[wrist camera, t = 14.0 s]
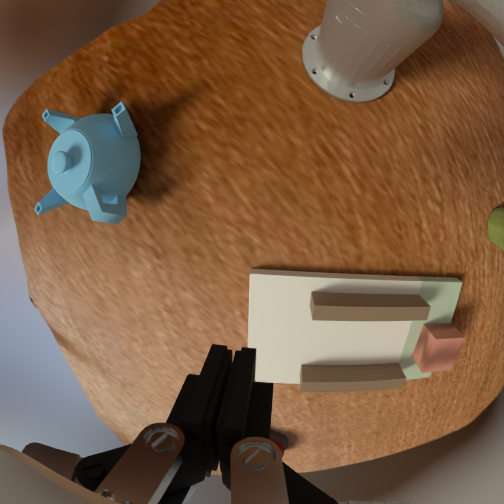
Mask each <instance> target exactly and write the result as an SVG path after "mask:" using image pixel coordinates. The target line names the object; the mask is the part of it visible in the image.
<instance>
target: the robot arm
mask: <svg viewBox="0 0 504 504" xmlns="http://www.w3.org/2000/svg"><path fill="white" fill-rule="evenodd" d="M449 1H450V2H452V3H453V4H455V5H456V6H458V7H460V8H461V9H462V10H464V11H465V12H466V13H467V14H469V15H470V16H471V17H472V18H474V19H475V20H476V21H477V22H478V23H479V24H481V25H482V26H483V27H484V28H485V29H486V30H487V31H488V32H490V33H491V34H492V35H493V36H494V37H495V38H496V39H497V40H498V41H499V42H500V43H501V44H502V45H503V46H504V0H449ZM442 18H443V0H327V4H326V7H325V11H324V15H323V19H322V23H321V25H320V26H318V27H316V28H315V29H313V30H312V31H311V32H310V33H309V34H308V36H307V37H306V39H305V41H304V44H303V49H302V60H303V64H304V68H305V70H306V72H307V74H308V75H309V77H310V78H311V80H312V81H313V82H314V83H315V84H316V85H317V86H318V87H319V88H320V89H322V90H323V91H324V92H326V93H327V94H329V95H331V96H333V97H335V98H337V99H340V100H343V101H347V102H352V103H363V102H369V101H372V100H375V99H377V98H379V97H380V96H382V95H383V94H384V93H385V92H387V91H388V90H389V88H390V87H391V85H392V83H393V80H394V76H395V68H396V67H397V66H398V65H399V64H400V63H401V62H402V61H404V60H405V59H406V58H407V57H408V56H409V55H411V54H412V53H413V52H414V51H415V50H416V49H418V48H419V47H420V46H421V45H422V44H423V43H425V42H426V41H427V40H428V39H429V38H430V37H432V36H433V35H434V34H435V33H436V31H437V30H438V29H439V27H440V25H441V22H442ZM313 72H315V73H316V74H313ZM384 83H385V84H386V85H385V84H384ZM350 95H352V96H353V98H351V97H350ZM255 369H256V348H245V347H242V349H241V351H238V350H236V352H235V356H234V359H233V363H232V350H227V346H224V345H215V344H212V346H211V348H210V351H209V353H208V356H207V358H206V361H205V363H204V366H203V368H202V371H201V373H200V375H194V374H189V375H188V376H187V377H186V380H185V382H184V384H183V386H182V388H181V391H180V393H179V395H178V397H177V399H176V402H175V404H174V406H173V408H172V410H171V413H170V415H169V417H168V419H167V421H166V423H154V424H151V425H149V426H147V427H145V428H144V429H143V430H142V431H141V432H140V434H139V435H138V436H137V438H136V439H135V440H134V441H133V443H132V444H129V445H126V446H123V447H120V448H116V449H113V450H109V451H106V452H102V453H99V454H94V455H91V456H88V457H85V458H82V457H80V456H79V455H78V454H75V453H71V452H67V451H63V450H60V449H56V448H53V447H50V446H47V445H44V444H41V443H35V442H34V443H29V444H28V445H26V446H25V448H24V449H23V451H22V452H20V451H18V450H16V449H13V448H11V447H8V446H5V445H1V444H0V504H187V503H188V501H189V499H190V498H191V495H192V494H193V492H194V490H195V488H196V484H197V483H199V482H201V481H203V480H204V479H205V476H207V477H210V474H211V470H214V471H216V470H217V468H218V464H219V462H220V470H221V473H222V481H223V484H224V485H225V486H226V487H227V488H228V489H229V490H230V491H231V504H411V503H409V502H363V501H348V502H337V501H335V500H334V499H333V498H331V497H330V496H328V495H327V494H326V493H324V492H323V491H321V490H320V489H318V488H317V487H316V486H314V485H313V484H311V483H310V482H309V481H307V480H306V479H305V478H303V477H302V476H300V475H299V474H298V473H297V472H295V471H294V470H293V469H291V468H290V467H289V466H288V465H286V464H285V463H284V462H283V461H282V456H281V452H280V449H279V447H278V446H277V445H276V444H275V443H274V442H272V441H271V440H269V438H270V425H271V412H272V397H273V383H266V382H255Z"/></svg>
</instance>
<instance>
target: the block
mask: <svg viewBox="0 0 504 504" xmlns="http://www.w3.org/2000/svg"><path fill="white" fill-rule="evenodd" d="M464 339H465V337H464V336H463V334H462V333H461V332H460V331H459V330H458V329H457V328H456V327H455V326H454V325H453V324H452V323H445V324H423V327H422V330H421V333H420V336H419V338H418V341H417V344H416V347H415V349H414V352H413V354H412V357H413V359H414V361H415V362H416V364H417V366H418V367H419V369H420V371H421V373H426V372H436V371H444V370H451V368H452V366H453V364H454V362H455V360H456V358H457V355H458V353H459V351H460V348H461V346H462V344H463V341H464Z"/></svg>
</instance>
